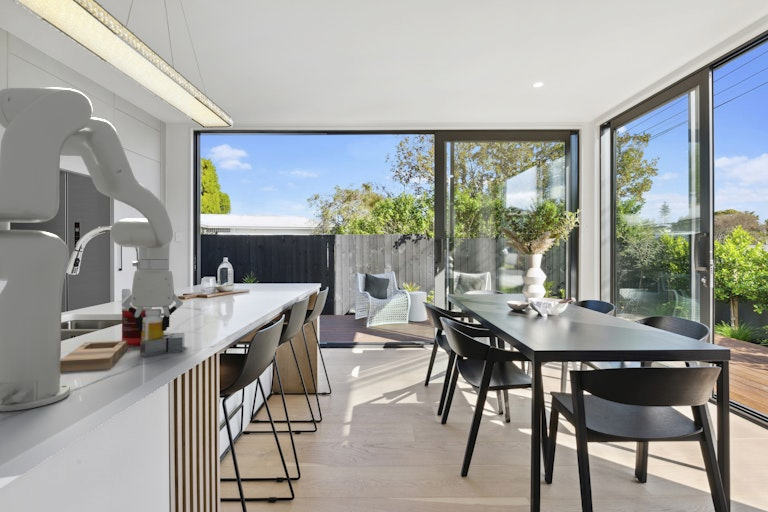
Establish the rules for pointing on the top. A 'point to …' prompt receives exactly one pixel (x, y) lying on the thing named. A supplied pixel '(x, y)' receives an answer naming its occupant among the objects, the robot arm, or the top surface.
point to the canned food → (131, 327)
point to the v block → (162, 344)
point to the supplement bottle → (152, 324)
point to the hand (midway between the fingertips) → (152, 329)
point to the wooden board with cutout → (93, 356)
